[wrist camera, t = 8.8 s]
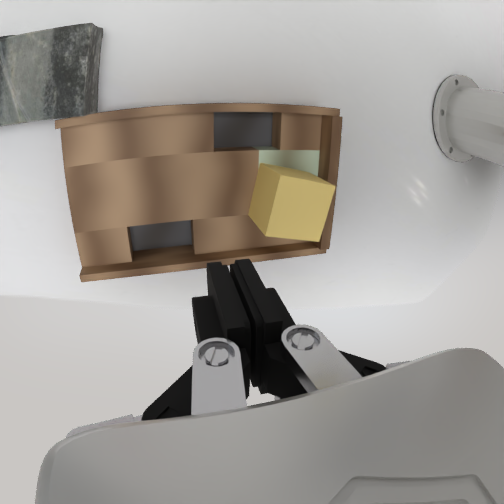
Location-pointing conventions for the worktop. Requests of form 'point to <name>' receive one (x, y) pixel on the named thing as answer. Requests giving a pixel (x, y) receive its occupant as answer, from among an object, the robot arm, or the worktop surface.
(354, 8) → the worktop surface
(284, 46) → the worktop surface
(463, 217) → the worktop surface
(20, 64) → the stone block
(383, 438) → the robot arm
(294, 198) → the block
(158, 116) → the box
